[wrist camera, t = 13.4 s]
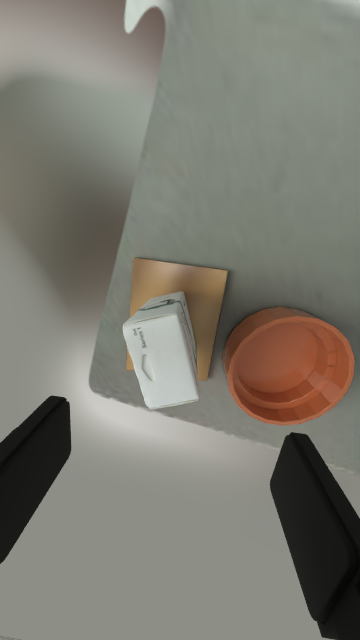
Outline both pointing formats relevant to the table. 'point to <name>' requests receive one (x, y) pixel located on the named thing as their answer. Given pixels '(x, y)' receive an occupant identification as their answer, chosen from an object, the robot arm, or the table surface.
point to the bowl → (287, 366)
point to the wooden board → (200, 296)
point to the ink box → (164, 351)
